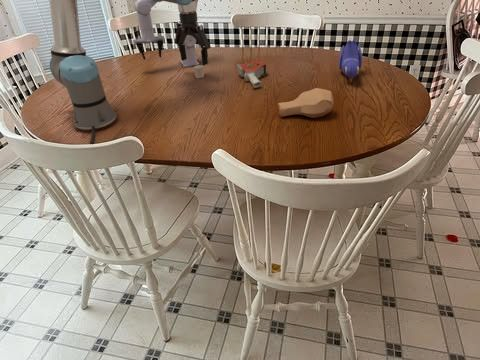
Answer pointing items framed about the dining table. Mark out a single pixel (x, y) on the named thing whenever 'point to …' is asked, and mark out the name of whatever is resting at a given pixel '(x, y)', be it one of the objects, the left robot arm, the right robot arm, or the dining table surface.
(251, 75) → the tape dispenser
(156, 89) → the dining table surface
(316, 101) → the squash
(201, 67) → the canister
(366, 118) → the dining table surface
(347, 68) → the toy
